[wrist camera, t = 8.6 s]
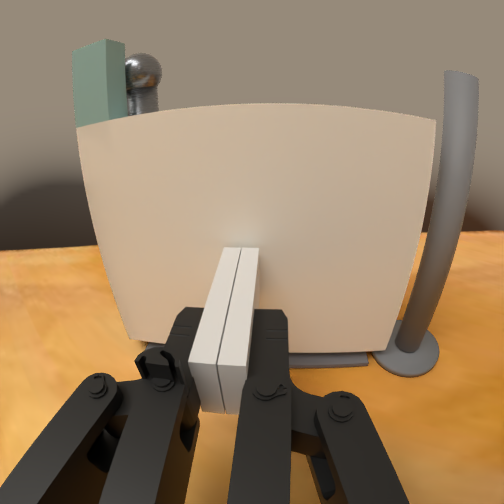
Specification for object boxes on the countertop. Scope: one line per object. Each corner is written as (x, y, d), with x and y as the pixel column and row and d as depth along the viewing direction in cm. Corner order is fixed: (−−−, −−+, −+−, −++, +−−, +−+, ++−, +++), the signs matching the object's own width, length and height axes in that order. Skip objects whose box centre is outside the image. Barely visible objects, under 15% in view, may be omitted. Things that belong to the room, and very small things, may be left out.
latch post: (209, 303, 22) (188, 52, 14) (196, 344, 18) (160, 38, 10) (156, 300, 22) (122, 65, 14) (136, 337, 19) (82, 60, 10)
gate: (414, 332, 17) (464, 55, 9) (422, 351, 16) (483, 53, 7) (140, 325, 19) (92, 53, 11) (131, 343, 17) (72, 51, 9)
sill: (423, 322, 19) (425, 318, 18) (446, 371, 14) (449, 367, 14) (161, 320, 20) (160, 315, 20) (138, 371, 16) (136, 367, 16)
